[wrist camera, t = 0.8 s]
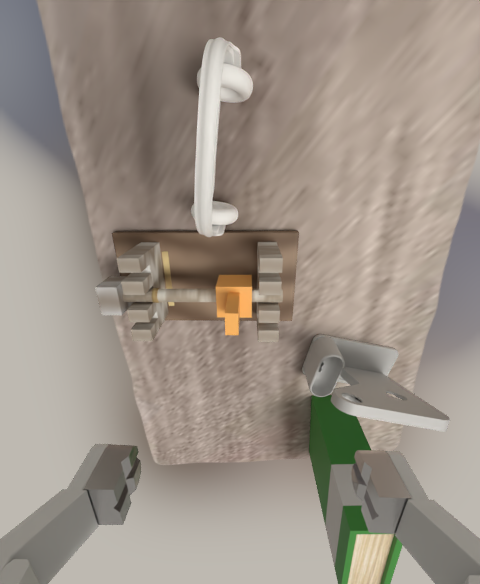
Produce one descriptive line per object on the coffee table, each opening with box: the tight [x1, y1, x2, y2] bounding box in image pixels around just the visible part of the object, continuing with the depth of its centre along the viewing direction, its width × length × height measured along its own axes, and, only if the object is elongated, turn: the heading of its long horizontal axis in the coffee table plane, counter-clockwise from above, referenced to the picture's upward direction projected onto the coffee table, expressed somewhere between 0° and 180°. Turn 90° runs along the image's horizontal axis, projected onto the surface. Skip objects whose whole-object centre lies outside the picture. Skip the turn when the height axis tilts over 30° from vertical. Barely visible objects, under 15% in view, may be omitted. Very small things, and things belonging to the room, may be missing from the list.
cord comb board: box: [95, 231, 299, 342], centre depth 43 cm, size 16×30×10 cm, turn 91°
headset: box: [191, 37, 253, 237], centre depth 32 cm, size 20×7×18 cm, turn 173°
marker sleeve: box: [216, 275, 252, 335], centre depth 37 cm, size 5×5×11 cm
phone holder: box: [302, 334, 449, 431], centre depth 46 cm, size 17×10×18 cm, turn 79°
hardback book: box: [309, 395, 402, 584], centre depth 50 cm, size 18×7×24 cm, turn 4°
